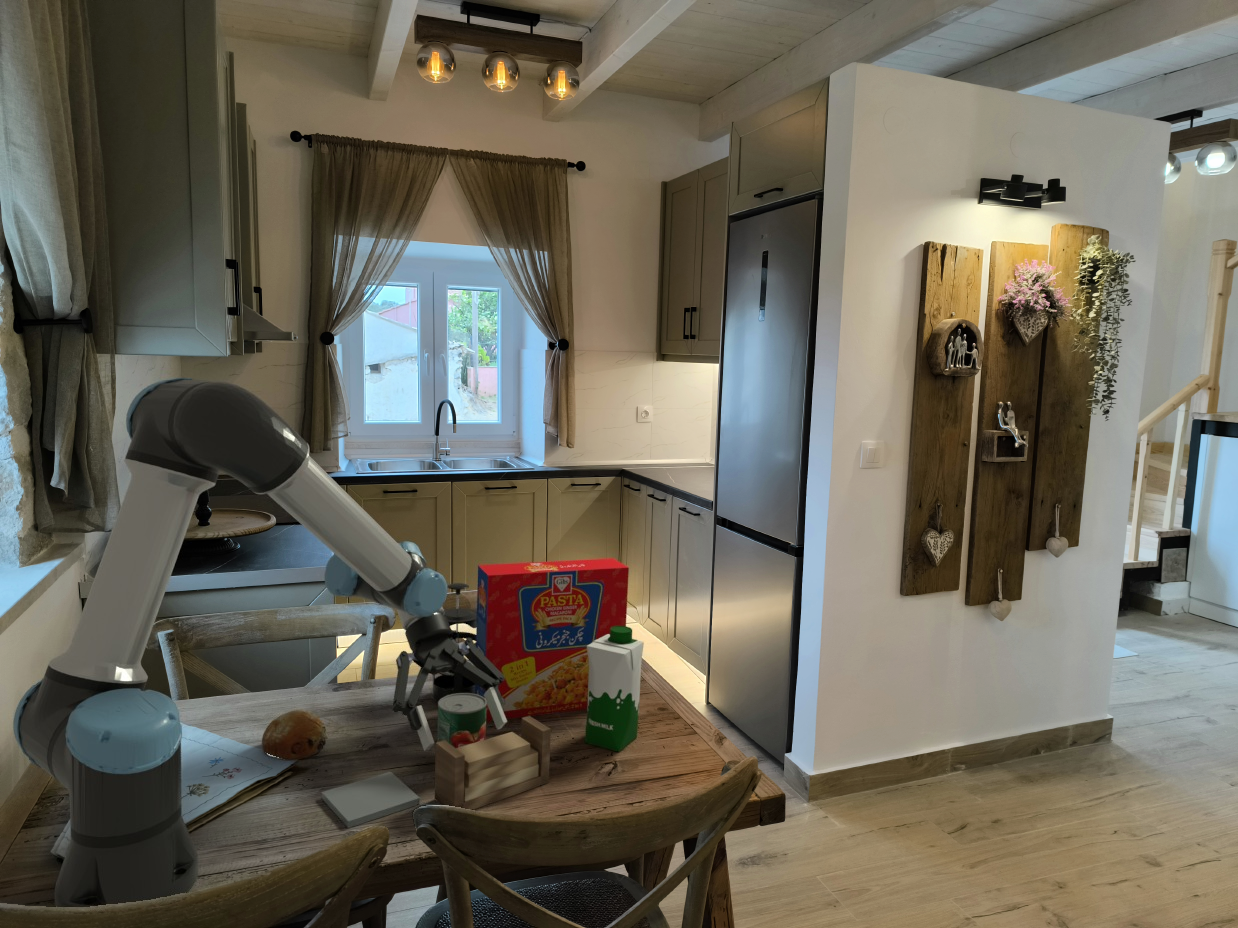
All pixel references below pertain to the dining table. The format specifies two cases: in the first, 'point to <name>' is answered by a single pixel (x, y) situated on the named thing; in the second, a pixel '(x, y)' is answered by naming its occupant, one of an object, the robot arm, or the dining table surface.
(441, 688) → the french press
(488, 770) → the offcut stack
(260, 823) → the dining table surface
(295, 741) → the bread roll
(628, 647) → the milk carton
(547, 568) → the pasta box
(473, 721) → the canned tomato
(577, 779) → the dining table surface
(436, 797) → the walnut rack
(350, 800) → the grey tile
